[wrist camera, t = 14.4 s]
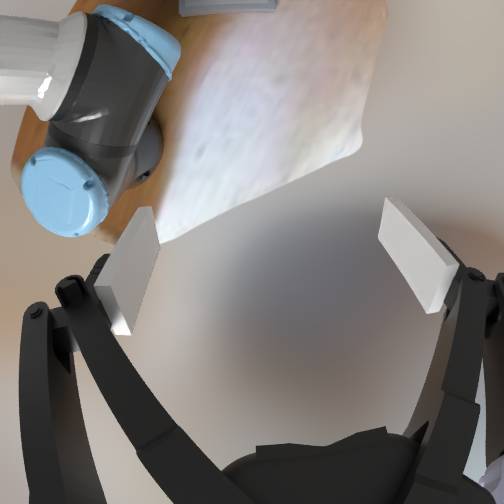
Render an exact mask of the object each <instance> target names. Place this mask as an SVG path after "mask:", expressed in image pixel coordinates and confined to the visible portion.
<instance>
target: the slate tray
mask: <svg viewBox="0 0 504 504" xmlns="http://www.w3.org/2000/svg"><path fill="white" fill-rule="evenodd" d="M274 11H275V0H179V15H181V16H182V17H189V16H198V15H209V14H223V13H273V12H274Z"/></svg>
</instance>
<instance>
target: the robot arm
mask: <svg viewBox="0 0 504 504" xmlns="http://www.w3.org/2000/svg"><path fill="white" fill-rule="evenodd" d="M180 56H181V46H180V44H179V42H178V40H177V39H176V38H175V37H174V36H172V35H171V34H170V33H168V32H167V31H165V30H164V29H162V28H160V27H159V26H157V25H155V24H154V23H152V22H150V21H148V20H146V19H144V18H142V17H140V16H137V15H133V14H132V13H130V12H127V11H126V10H124V9H121V8H118V7H115V6H112V5H107V4H101V5H99V6H98V7H97V8H96V9H94V10H93V11H92V14H88V13H84V12H75V13H73V14H71V15H70V16H68V17H66V18H64V19H63V20H61V21H59V22H55V21H49V20H42V19H34V18H27V17H18V16H7V15H0V105H30V106H31V107H32V108H33V109H34V111H35V112H36V114H37V115H38V117H39V118H40V120H43V121H50V123H49V127H48V130H47V134H46V138H45V142H44V145H43V148H41V149H39V150H37V151H35V153H34V154H33V155H32V156H31V158H30V159H29V160H28V161H27V163H26V164H25V167H24V169H23V172H22V178H21V187H22V193H23V197H24V200H25V202H26V205H27V207H28V208H29V209H30V210H31V212H32V214H33V216H34V217H35V219H37V221H38V222H39V223H40V224H41V225H42V226H44V227H45V228H47V229H48V230H50V231H51V232H53V233H56V234H58V235H61V236H66V237H77V236H81V235H85V234H87V233H89V232H90V231H92V230H93V229H94V228H95V227H96V226H97V225H98V224H99V223H101V222H102V221H103V220H104V218H105V217H106V215H107V213H108V211H109V210H110V209H111V207H112V206H113V205H114V203H115V202H116V201H117V200H118V198H119V197H120V196H121V195H122V193H123V192H124V191H125V190H127V189H131V188H134V187H136V186H138V185H140V184H142V183H143V182H144V181H146V180H147V179H148V178H149V177H150V176H151V174H152V173H153V172H154V170H155V169H156V168H157V166H158V164H159V162H160V159H161V156H162V151H163V139H162V134H161V131H160V128H159V126H158V124H157V122H156V121H155V119H154V118H153V117H152V116H151V115H152V112H153V110H154V108H155V106H156V104H157V102H158V100H159V98H160V96H161V94H162V92H163V90H164V88H165V86H166V84H167V82H169V81H170V80H171V77H172V72H173V70H174V68H175V66H176V64H177V62H178V60H179V58H180ZM378 239H379V240H380V242H381V243H382V244H383V246H384V248H385V249H386V250H387V252H388V253H389V255H390V256H391V258H392V259H393V261H394V262H395V264H396V265H397V267H398V268H399V269H400V271H401V273H402V274H403V276H404V277H405V279H406V281H407V282H408V283H409V285H410V287H411V289H412V290H413V292H414V293H415V295H416V297H417V298H418V300H419V301H420V303H421V305H422V306H423V308H424V310H425V312H426V313H427V314H428V313H434V312H439V310H440V308H441V306H442V304H443V302H444V303H445V304H446V306H447V309H446V311H445V313H444V315H443V317H442V319H441V321H440V323H439V325H441V324H442V325H441V329H440V333H439V338H438V341H437V345H436V348H435V352H434V356H433V359H432V362H431V365H430V368H429V371H428V374H427V377H426V380H425V383H424V387H423V389H422V392H421V395H420V397H419V400H418V403H417V405H416V408H415V410H414V413H413V415H412V418H411V420H410V422H409V425H408V427H407V429H406V430H405V432H404V433H403V435H398V434H391V433H387V430H386V427H385V426H384V427H380V428H376V429H372V430H367V431H363V432H358V433H355V434H353V435H351V436H349V437H347V438H344V439H342V440H340V441H338V442H335V443H333V444H331V445H328V446H311V445H301V444H291V443H287V444H276V445H263V446H256V453H252V454H249V455H246V456H244V457H242V458H239V459H237V460H236V461H234V462H232V463H231V464H229V465H228V466H227V467H225V468H224V469H223V470H222V471H220V470H219V469H218V468H217V467H216V466H215V465H214V463H213V462H212V461H211V460H210V459H209V458H208V457H207V456H206V455H205V454H204V453H203V452H202V451H201V450H200V448H199V447H198V446H197V445H196V444H195V443H194V442H193V441H192V440H191V439H190V437H189V436H188V435H187V434H186V433H185V432H184V430H183V429H182V428H181V427H180V426H178V425H177V424H176V423H175V421H174V420H173V419H172V418H171V416H170V415H169V414H168V413H167V411H166V410H165V409H164V408H163V406H162V405H161V404H160V402H159V401H158V400H157V399H156V397H155V396H154V395H153V393H152V392H151V390H150V389H149V388H148V387H147V385H146V384H145V382H144V381H143V379H142V378H141V377H140V375H139V374H138V372H137V371H136V369H135V368H134V366H133V365H132V363H131V362H130V360H129V359H128V357H127V356H126V354H125V353H124V351H123V350H122V348H121V347H120V345H119V343H118V342H117V340H116V339H115V337H114V335H113V334H112V332H111V330H110V329H111V326H112V327H113V330H114V332H115V334H116V335H132V332H133V329H134V325H135V323H136V319H137V316H138V313H139V310H140V307H141V303H142V300H143V297H144V294H145V291H146V288H147V285H148V282H149V279H150V276H151V273H152V271H153V268H154V265H155V262H156V259H157V257H158V254H159V251H160V244H159V240H158V235H157V231H156V226H155V221H154V216H153V211H152V206H147V207H138V209H137V211H136V212H135V214H134V215H133V217H132V219H131V220H130V222H129V224H128V225H127V227H126V228H125V230H124V232H123V234H122V235H121V237H120V239H119V240H118V242H117V244H116V245H115V247H114V249H113V251H112V252H111V254H104V255H103V256H102V257H100V258H99V259H98V260H97V262H96V263H95V265H94V267H93V269H92V270H91V272H90V274H89V275H88V277H87V279H86V281H84V279H83V278H82V277H81V276H80V275H70V276H68V277H65V278H64V279H62V280H61V281H60V282H59V283H58V284H57V285H56V288H55V293H56V295H57V297H58V299H59V301H60V303H61V305H62V307H57V308H54V309H49V307H48V305H47V304H46V303H45V302H36V303H34V304H32V305H31V306H29V307H28V308H27V310H26V311H25V313H24V316H23V324H22V333H21V344H20V359H19V414H20V415H19V416H20V431H21V441H22V450H23V457H24V464H25V471H26V477H27V482H28V487H29V492H30V494H29V504H107V502H106V499H105V496H104V492H103V489H102V486H101V483H100V480H99V477H98V474H97V470H96V467H95V464H94V460H93V457H92V453H91V450H90V445H89V441H88V437H87V433H86V429H85V425H84V420H83V415H82V409H81V404H80V398H79V393H78V386H77V379H76V372H75V365H74V355H73V352H76V351H81V353H82V355H83V357H84V359H85V361H86V363H87V366H88V368H89V370H90V372H91V374H92V376H93V378H94V380H95V382H96V383H97V386H98V387H99V389H100V391H101V393H102V395H103V397H104V399H105V400H106V402H107V404H108V406H109V407H110V409H111V411H112V413H113V414H114V416H115V418H116V419H117V421H118V423H119V424H120V426H121V428H122V429H123V431H124V432H125V434H126V435H127V437H128V439H129V440H130V442H131V443H132V445H133V446H134V448H135V449H136V454H137V456H138V458H139V459H140V461H141V462H142V464H143V465H144V466H145V468H146V469H147V470H148V472H149V473H150V475H151V476H152V477H153V479H154V480H155V481H156V483H158V485H159V486H160V488H161V489H162V490H163V491H164V492H165V494H166V495H167V496H168V497H169V499H170V500H171V501H172V502H173V503H174V504H504V273H498V275H497V277H496V279H495V281H493V280H487V279H486V277H485V276H484V274H483V273H482V272H480V271H479V270H477V269H475V268H471V267H468V268H467V267H466V266H465V265H464V264H463V263H462V261H461V260H460V259H459V258H458V257H457V256H456V254H454V252H453V251H452V250H451V249H450V248H449V247H448V245H447V244H446V243H445V242H444V241H442V240H441V239H439V238H438V237H435V236H434V235H433V234H432V233H431V232H430V231H429V229H427V227H426V226H425V225H424V224H423V223H422V222H421V221H420V220H419V219H418V218H417V217H416V216H415V215H414V214H413V213H412V212H411V211H410V210H409V209H408V208H407V207H406V206H405V205H404V204H403V203H402V202H401V201H400V200H399V199H398V198H397V197H386V198H385V203H384V208H383V214H382V220H381V225H380V230H379V234H378ZM482 358H483V368H484V380H485V396H486V467H487V469H486V472H485V475H484V476H482V477H481V479H480V480H479V484H478V483H476V482H474V481H473V480H471V479H470V478H468V477H467V476H465V475H464V474H463V471H464V468H465V465H466V462H467V459H468V456H469V453H470V449H471V446H472V443H473V439H474V435H475V431H476V427H477V423H478V419H479V414H480V405H479V404H477V403H475V398H476V392H477V387H478V382H479V376H480V369H481V362H482Z"/></svg>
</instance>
